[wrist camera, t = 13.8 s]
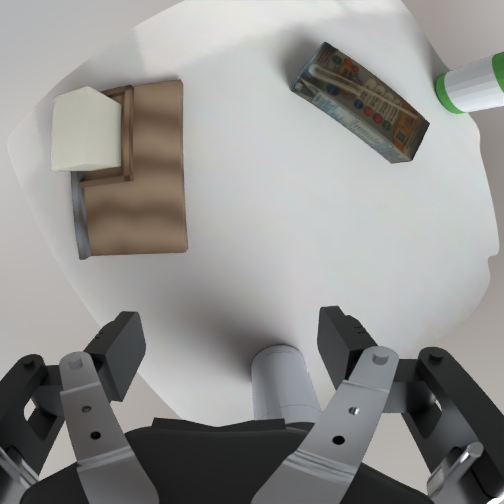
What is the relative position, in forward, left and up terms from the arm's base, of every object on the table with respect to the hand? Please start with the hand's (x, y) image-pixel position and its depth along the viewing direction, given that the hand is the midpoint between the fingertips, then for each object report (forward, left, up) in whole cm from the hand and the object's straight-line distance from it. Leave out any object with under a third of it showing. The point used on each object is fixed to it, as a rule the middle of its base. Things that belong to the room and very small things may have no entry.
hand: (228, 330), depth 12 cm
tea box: (+14, +18, -26) cm, 35 cm away
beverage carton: (+18, -18, -29) cm, 38 cm away
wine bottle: (+24, -38, -28) cm, 53 cm away
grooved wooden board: (+9, +15, -28) cm, 33 cm away
